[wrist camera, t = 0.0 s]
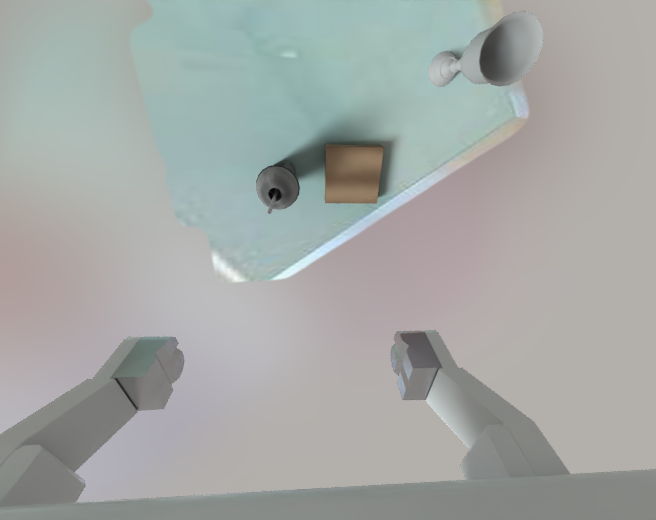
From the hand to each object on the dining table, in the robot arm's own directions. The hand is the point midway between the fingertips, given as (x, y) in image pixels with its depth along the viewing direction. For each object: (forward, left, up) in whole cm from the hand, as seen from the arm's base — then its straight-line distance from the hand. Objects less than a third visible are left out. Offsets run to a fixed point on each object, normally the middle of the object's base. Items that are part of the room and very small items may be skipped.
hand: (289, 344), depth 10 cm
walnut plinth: (+4, +9, -48) cm, 49 cm away
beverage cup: (+4, -5, -48) cm, 49 cm away
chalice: (-14, +24, -48) cm, 56 cm away
